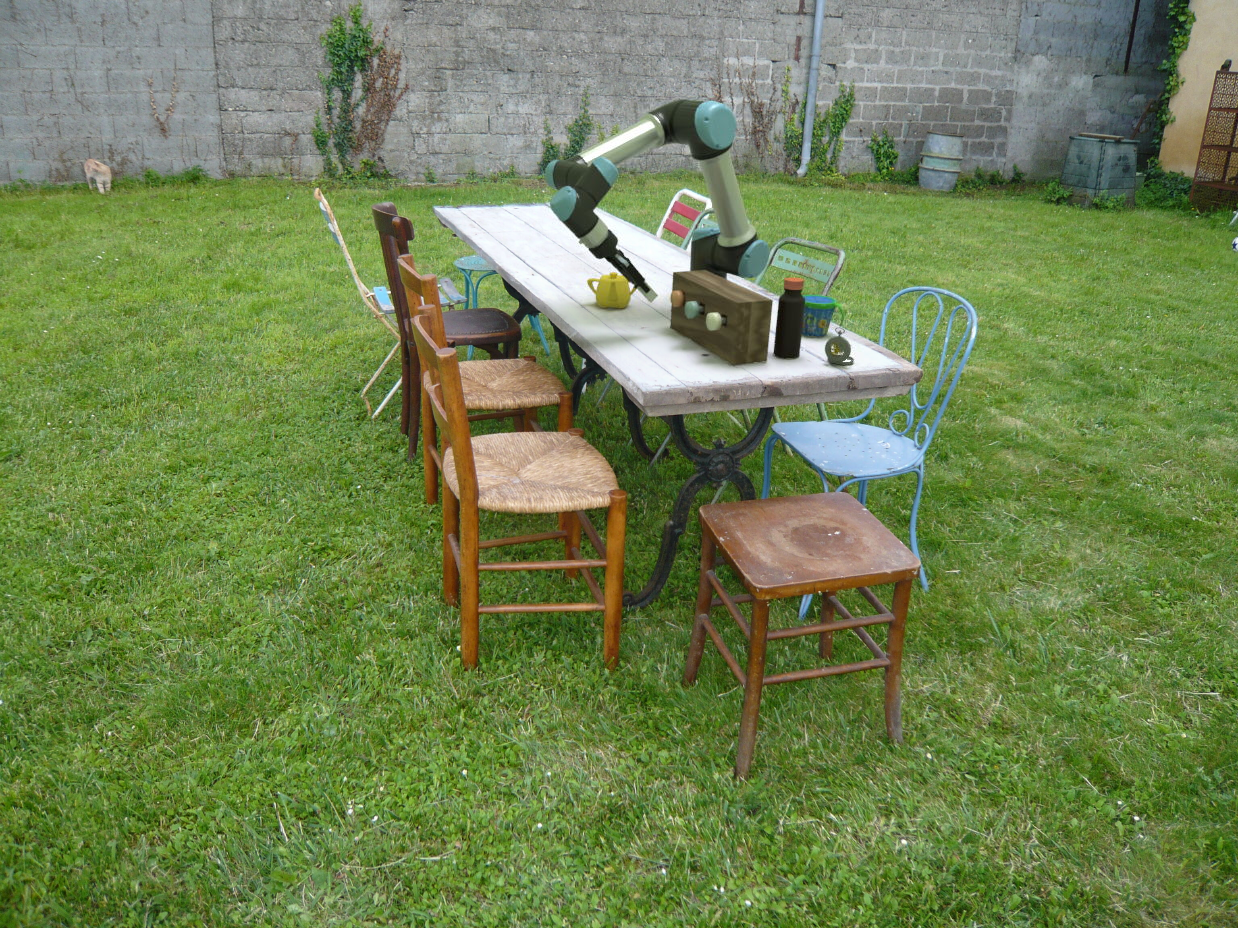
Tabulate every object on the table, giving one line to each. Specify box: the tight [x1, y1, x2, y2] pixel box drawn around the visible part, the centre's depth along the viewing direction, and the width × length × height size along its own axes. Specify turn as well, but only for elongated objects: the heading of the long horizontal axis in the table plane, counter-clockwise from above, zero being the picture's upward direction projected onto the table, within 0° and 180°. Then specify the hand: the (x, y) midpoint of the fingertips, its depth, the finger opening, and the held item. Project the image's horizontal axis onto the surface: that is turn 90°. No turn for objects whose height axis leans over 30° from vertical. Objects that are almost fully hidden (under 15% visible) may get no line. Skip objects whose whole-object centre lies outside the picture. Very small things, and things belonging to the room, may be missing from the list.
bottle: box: [773, 276, 805, 359], centre depth 237 cm, size 7×7×20 cm
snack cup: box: [802, 294, 845, 338], centre depth 258 cm, size 16×10×10 cm
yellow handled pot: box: [586, 271, 637, 310], centre depth 281 cm, size 14×13×10 cm
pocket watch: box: [824, 326, 855, 365], centre depth 234 cm, size 8×8×10 cm
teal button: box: [685, 301, 705, 319], centre depth 242 cm, size 6×4×4 cm
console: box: [669, 270, 774, 366], centre depth 245 cm, size 10×36×16 cm, turn 23°
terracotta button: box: [670, 290, 684, 307], centre depth 253 cm, size 6×4×4 cm
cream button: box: [706, 312, 727, 331], centre depth 232 cm, size 6×4×4 cm
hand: (653, 298), depth 249 cm, fingers closed
